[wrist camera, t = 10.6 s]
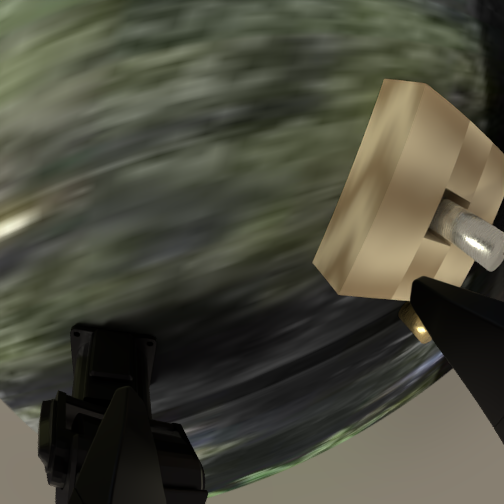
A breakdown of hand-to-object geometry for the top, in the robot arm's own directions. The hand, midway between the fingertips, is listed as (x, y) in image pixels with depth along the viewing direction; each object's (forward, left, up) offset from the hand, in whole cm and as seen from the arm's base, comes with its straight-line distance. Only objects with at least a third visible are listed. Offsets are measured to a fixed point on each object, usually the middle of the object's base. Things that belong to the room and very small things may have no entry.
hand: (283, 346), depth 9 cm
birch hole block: (+4, -15, -12) cm, 20 cm away
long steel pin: (+4, -15, -12) cm, 20 cm away
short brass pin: (-6, -22, -12) cm, 26 cm away
